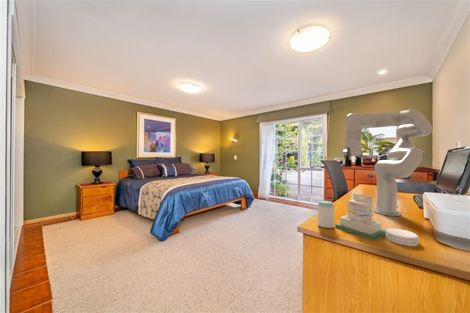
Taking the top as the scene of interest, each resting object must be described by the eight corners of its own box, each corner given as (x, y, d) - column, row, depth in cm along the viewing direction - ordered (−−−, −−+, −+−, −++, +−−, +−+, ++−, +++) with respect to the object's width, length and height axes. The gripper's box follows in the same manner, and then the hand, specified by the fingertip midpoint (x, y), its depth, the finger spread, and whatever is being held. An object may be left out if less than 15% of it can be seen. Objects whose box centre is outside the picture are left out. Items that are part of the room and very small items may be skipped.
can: (334, 225, 94) (334, 201, 94) (333, 230, 88) (333, 204, 88) (319, 222, 98) (319, 199, 98) (316, 227, 92) (316, 202, 92)
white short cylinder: (425, 247, 72) (425, 238, 72) (396, 246, 73) (396, 236, 73) (406, 236, 82) (406, 228, 82) (380, 235, 83) (380, 227, 83)
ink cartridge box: (347, 225, 90) (347, 194, 90) (352, 223, 93) (352, 193, 93) (367, 231, 83) (367, 197, 83) (372, 229, 86) (373, 196, 86)
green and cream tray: (349, 222, 98) (349, 213, 98) (386, 234, 84) (386, 222, 84) (335, 227, 92) (335, 216, 92) (372, 240, 78) (372, 227, 78)
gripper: (355, 137, 115) (355, 165, 115) (337, 135, 107) (337, 166, 107) (369, 136, 109) (368, 166, 109) (351, 134, 100) (351, 167, 100)
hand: (353, 166), depth 108 cm, fingers open, 9 cm apart
